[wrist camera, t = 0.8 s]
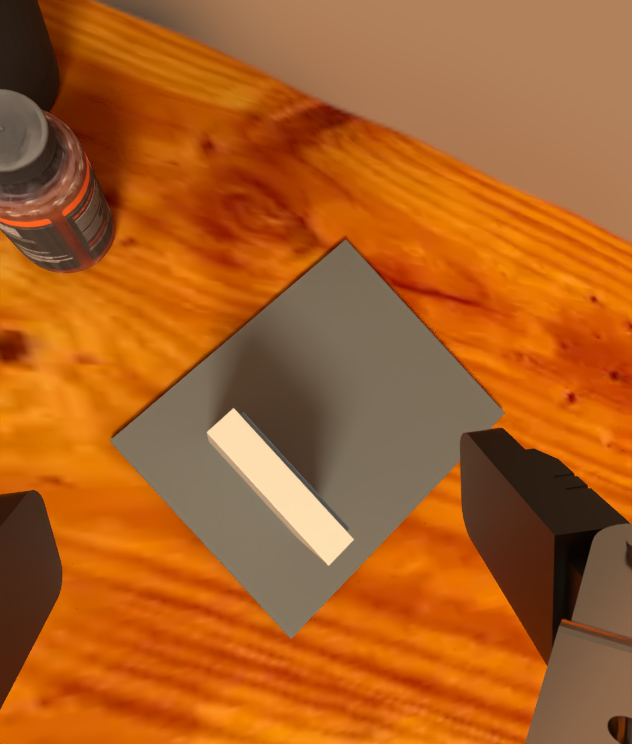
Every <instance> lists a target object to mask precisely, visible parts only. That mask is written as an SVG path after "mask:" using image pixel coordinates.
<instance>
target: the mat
mask: <svg viewBox="0 0 632 744" xmlns="http://www.w3.org/2000/svg"><path fill="white" fill-rule="evenodd" d="M233 408H234V409H235V410H236V411H237V412H238V413H239V414H241V413H243V412H244V413H245V414H246V415H247V416H248V418H249V419H250V420H251V421H252V422H253V423H254V424H255V425H256V426H257V427H258V429H259V430H260V431H261V432H262V433H263V434H264V435H265V436H266V437H267V438H268V439H269V441H270V442H271V443H272V444H273V445H274V446H275V447H276V448H277V449H278V450H279V451H280V453H281V454H282V455H283V456H284V457H285V458H286V459H287V460H288V461H289V462H290V463H291V465H292V466H293V467H294V468H295V469H296V470H297V471H298V472H299V473H300V474H301V475H302V477H303V478H304V479H305V480H306V481H307V482H308V483H309V484H310V485H311V486H312V487H313V489H314V490H315V491H316V492H317V493H318V494H319V495H320V496H321V497H322V498H323V500H324V501H325V502H326V503H327V504H328V505H329V506H330V507H331V508H332V509H333V510H334V512H335V513H336V514H337V515H338V516H339V517H340V518H341V519H342V520H343V521H344V522H345V524H346V525H347V526H348V527H349V529H348V530H347V532H348V533H349V535H350V536H351V537H352V538H353V539H354V540H353V541H352V542H351V543H350V544H349V545H348V546H347V547H346V548H345V549H344V551H343V552H342V553H341V554H340V555H339V556H338V557H337V558H336V559H335V560H334V561H333V562H332V563H331V564H330V565H329V566H328V565H327V564H326V563H325V562H324V561H323V560H321V559H320V558H319V557H318V556H317V555H316V554H315V553H314V552H312V551H311V550H310V549H309V548H308V547H307V546H306V545H304V544H303V543H302V542H301V541H300V540H299V539H298V538H297V537H296V536H295V535H294V534H293V533H292V532H291V531H290V530H289V529H288V528H287V527H286V525H285V524H284V523H283V522H282V521H281V520H280V519H279V518H278V517H277V516H276V515H275V513H274V512H273V511H272V510H271V509H270V508H269V507H268V506H267V505H266V504H265V503H264V501H263V500H262V499H261V498H260V497H259V496H258V495H257V494H256V493H255V492H254V491H253V489H252V488H251V487H250V486H249V485H248V484H247V483H246V482H245V481H244V480H243V479H242V477H241V476H240V475H239V474H238V473H237V472H236V471H235V470H234V469H233V468H232V466H231V465H230V464H229V463H228V462H227V461H226V460H225V459H224V458H223V457H222V456H221V454H220V453H219V452H218V451H217V450H216V449H215V448H214V447H213V446H212V445H211V444H210V442H209V441H208V437H207V431H209V430H210V429H211V428H212V427H213V426H214V425H215V424H216V423H218V422H219V421H220V420H221V419H222V418H223V417H224V416H225V415H226V414H228V413H229V412H230V411H231V410H232V409H233ZM504 413H505V412H504V411H503V410H502V409H501V408H500V407H499V406H498V405H497V404H496V403H495V401H494V400H493V399H492V398H491V397H490V396H489V395H488V394H487V393H486V392H485V391H484V389H483V388H482V387H481V386H480V385H479V384H478V383H477V382H476V381H475V380H474V379H473V377H472V376H471V375H470V374H469V373H468V372H467V371H466V370H465V369H464V368H463V367H462V365H461V364H460V363H459V362H458V361H457V360H456V359H455V358H454V357H453V356H452V355H451V353H450V352H449V351H448V350H447V349H446V348H445V347H444V346H443V345H442V344H441V343H440V341H439V340H438V339H437V338H436V337H435V336H434V335H433V334H432V333H431V332H430V331H429V329H428V328H427V327H426V326H425V325H424V324H423V323H422V322H421V321H420V320H419V319H418V317H417V316H416V315H415V314H414V313H413V312H412V311H411V310H410V309H409V308H408V307H407V305H406V304H405V303H404V302H403V301H402V300H401V299H400V298H399V297H398V296H397V294H396V293H395V292H394V291H393V290H392V289H391V288H390V287H389V286H388V285H387V284H386V282H385V281H384V280H383V279H382V278H381V277H380V276H379V275H378V274H377V273H376V272H375V270H374V269H373V268H372V267H371V266H370V265H369V264H368V263H367V262H366V261H365V260H364V258H363V257H362V256H361V255H360V254H359V253H358V252H357V251H356V250H355V249H354V248H353V246H352V245H351V244H350V243H349V242H348V241H347V240H344V241H343V242H342V243H341V244H340V245H339V246H337V247H336V248H335V249H334V250H333V251H332V252H330V253H329V254H328V255H327V256H326V257H325V258H323V259H322V260H321V261H320V262H319V263H317V264H316V265H315V266H314V267H313V268H312V269H310V270H309V271H308V272H307V273H306V274H305V275H303V276H302V277H301V278H300V279H299V280H298V281H296V282H295V283H294V284H293V285H292V286H291V287H289V288H288V289H287V290H286V291H285V292H283V293H282V294H281V295H280V296H279V297H278V298H276V299H275V300H274V301H273V302H272V303H271V304H269V305H268V306H267V307H266V308H265V309H264V310H262V311H261V312H260V313H259V314H258V315H257V316H255V317H254V318H253V319H252V320H251V321H249V322H248V323H247V324H246V325H245V326H244V327H242V328H241V329H240V330H239V331H238V332H237V333H235V334H234V335H233V336H232V337H231V338H230V339H228V340H227V341H226V342H225V343H224V344H223V345H221V346H220V347H219V348H218V349H217V350H215V351H214V352H213V353H212V354H211V355H210V356H208V357H207V358H206V359H205V360H204V361H203V362H201V363H200V364H199V365H198V366H197V367H196V368H194V369H193V370H192V371H191V372H190V373H189V374H187V375H186V376H185V377H184V378H183V379H181V380H180V381H179V382H178V383H177V384H176V385H174V386H173V387H172V388H171V389H170V390H169V391H167V392H166V393H165V394H164V395H163V396H162V397H160V398H159V399H158V400H157V401H156V402H155V403H153V404H152V405H151V406H150V407H149V408H147V409H146V410H145V411H144V412H143V413H142V414H140V415H139V416H138V417H137V418H136V419H135V420H133V421H132V422H131V423H130V424H129V425H128V426H126V427H125V428H124V429H123V430H122V431H121V432H119V433H118V434H117V435H116V436H115V437H113V438H112V439H111V440H110V442H111V443H112V444H113V445H114V446H115V447H116V448H117V450H118V451H119V452H120V453H121V454H122V455H123V456H124V457H125V458H126V459H127V460H128V462H129V463H130V464H131V465H132V466H133V467H134V468H135V469H136V470H137V471H138V472H139V474H140V475H141V476H142V477H143V478H144V479H145V480H146V481H147V482H148V483H149V485H150V486H151V487H152V488H153V489H154V490H155V491H156V492H157V493H158V494H159V495H160V497H161V498H162V499H163V500H164V501H165V502H166V503H167V504H168V505H169V506H170V507H171V509H172V510H173V511H174V512H175V513H176V514H177V515H178V516H179V517H180V518H181V519H182V521H183V522H184V523H185V524H186V525H187V526H188V527H189V528H190V529H191V530H192V531H193V533H194V534H195V535H196V536H197V537H198V538H199V539H200V540H201V541H202V542H203V543H204V545H205V546H206V547H207V548H208V549H209V550H210V551H211V552H212V553H213V554H214V556H215V557H216V558H217V559H218V560H219V561H220V562H221V563H222V564H223V565H224V566H225V568H226V569H227V570H228V571H229V572H230V573H231V574H232V575H233V576H234V577H235V578H236V580H237V581H238V582H239V583H240V584H241V585H242V586H243V587H244V588H245V589H246V590H247V592H248V593H249V594H250V595H251V596H252V597H253V598H254V599H255V600H256V601H257V602H258V604H259V605H260V606H261V607H262V608H263V609H264V610H265V611H266V612H267V613H268V615H269V616H270V617H271V618H272V619H273V620H274V621H275V622H276V623H277V624H278V625H279V627H280V628H281V629H282V630H283V631H284V632H285V633H286V634H287V635H288V636H289V637H290V639H291V638H292V637H293V636H294V635H295V634H296V633H297V632H298V631H299V630H300V629H301V628H302V627H303V626H304V625H305V624H306V622H307V621H308V620H309V619H310V618H311V617H312V616H313V615H314V614H315V613H316V612H317V611H318V610H319V609H320V608H321V607H322V606H323V605H324V603H325V602H326V601H327V600H328V599H329V598H330V597H331V596H332V595H333V594H334V593H335V592H336V591H337V590H338V589H339V588H340V587H341V586H342V584H343V583H344V582H345V581H346V580H347V579H348V578H349V577H350V576H351V575H352V574H353V573H354V572H355V571H356V570H357V569H358V568H359V567H360V565H361V564H362V563H363V562H364V561H365V560H366V559H367V558H368V557H369V556H370V555H371V554H372V553H373V552H374V551H375V550H376V549H377V548H378V546H379V545H380V544H381V543H382V542H383V541H384V540H385V539H386V538H387V537H388V536H389V535H390V534H391V533H392V532H393V531H394V530H395V529H396V527H397V526H398V525H399V524H400V523H401V522H402V521H403V520H404V519H405V518H406V517H407V516H408V515H409V514H410V513H411V512H412V511H413V510H414V508H415V507H416V506H417V505H418V504H419V503H420V502H421V501H422V500H423V499H424V498H425V497H426V496H427V495H428V494H429V493H430V492H431V491H432V489H433V488H434V487H435V486H436V485H437V484H438V483H439V482H440V481H441V480H442V479H443V478H444V477H445V476H446V475H447V474H448V473H449V472H450V470H451V469H452V468H453V467H454V466H455V465H456V464H457V463H458V462H459V461H460V439H461V435H462V434H463V433H466V432H473V431H481V430H488V429H490V428H491V427H492V426H493V425H494V424H495V423H496V422H497V421H498V420H499V419H500V418H501V417H502V416H503V415H504Z"/></svg>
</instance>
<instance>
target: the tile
mask: <svg viewBox="0 0 632 744" xmlns="http://www.w3.org/2000/svg"><path fill="white" fill-rule="evenodd" d="M207 437H208V441H209V442H210V444H211V445H212V446H213V447H214V448H215V449H216V450H217V451H218V452H219V453H220V454H221V456H222V457H223V458H224V459H225V460H226V461H227V462H228V463H229V464H230V465H231V466H232V468H233V469H234V470H235V471H236V472H237V473H238V474H239V475H240V476H241V477H242V479H243V480H244V481H245V482H246V483H247V484H248V485H249V486H250V487H251V488H252V489H253V491H254V492H255V493H256V494H257V495H258V496H259V497H260V498H261V499H262V500H263V501H264V503H265V504H266V505H267V506H268V507H269V508H270V509H271V510H272V511H273V512H274V513H275V515H276V516H277V517H278V518H279V519H280V520H281V521H282V522H283V523H284V524H285V525H286V527H287V528H288V529H289V530H290V531H291V532H292V533H293V534H294V535H295V536H296V537H297V538H298V539H299V540H300V541H301V542H302V543H303V544H304V545H306V546H307V547H308V548H309V549H310V550H311V551H312V552H314V553H315V554H316V555H317V556H318V557H319V558H320V559H321V560H323V561H324V562H325V563H326V564H327V565H328V566H329V565H330V564H331V563H332V562H333V561H334V560H335V559H336V558H337V557H338V556H339V555H340V554H341V553H342V552H343V551H344V549H345V548H346V547H347V546H348V545H349V544H350V543H351V542H352V541H353V540H354V539H353V538H352V537H351V536H350V535H349V533H348V532H347V530H348V529H349V527H348V526H347V525H346V524H345V522H344V521H343V520H342V519H341V518H340V517H339V516H338V515H337V514H336V513H335V512H334V510H333V509H332V508H331V507H330V506H329V505H328V504H327V503H326V502H325V501H324V500H323V498H322V497H321V496H320V495H319V494H318V493H317V492H316V491H315V490H314V489H313V487H312V486H311V485H310V484H309V483H308V482H307V481H306V480H305V479H304V478H303V477H302V475H301V474H300V473H299V472H298V471H297V470H296V469H295V468H294V467H293V466H292V465H291V463H290V462H289V461H288V460H287V459H286V458H285V457H284V456H283V455H282V454H281V453H280V451H279V450H278V449H277V448H276V447H275V446H274V445H273V444H272V443H271V442H270V441H269V439H268V438H267V437H266V436H265V435H264V434H263V433H262V432H261V431H260V430H259V429H258V427H257V426H256V425H255V424H254V423H253V422H252V421H251V420H250V419H249V418H248V416H247V415H246V414H245V413H244V412H243V413H241V414H239V413H238V412H237V411H236V410H235V409H234V408H233V409H232V410H231V411H230V412H229V413H228V414H226V415H225V416H224V417H223V418H222V419H221V420H220V421H219V422H218V423H216V424H215V425H214V426H213V427H212V428H211V429H210V430H209V431H207Z"/></svg>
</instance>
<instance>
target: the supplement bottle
mask: <svg viewBox="0 0 632 744" xmlns="http://www.w3.org/2000/svg"><path fill="white" fill-rule="evenodd" d="M0 230H1V231H2V232H3V233H4V234H5V235H6V236H7V237H8V238H9V239H10V240H11V241H12V242H13V243H14V245H15V246H16V247H17V248H18V249H19V250H20V251H21V252H22V253H23V254H24V255H25V256H26V257H27V258H28V259H29V260H30V261H32V262H33V263H34V264H36V265H38V266H39V267H41V268H44V269H46V270H49V271H53V272H57V273H73V272H78V271H82V270H84V269H87V268H89V267H91V266H93V265H94V264H96V263H97V262H99V261H100V260H101V259H102V258H103V257H104V255H105V254H106V253H107V251H108V250H109V248H110V246H111V243H112V240H113V237H114V221H113V218H112V214H111V211H110V208H109V206H108V204H107V201H106V199H105V197H104V194H103V192H102V190H101V188H100V185H99V183H98V180H97V178H96V176H95V174H94V171H93V169H92V167H91V165H90V162H89V160H88V158H87V156H86V153H85V151H84V149H83V147H82V145H81V143H80V141H79V140H78V138H77V137H76V135H75V134H74V132H73V131H72V130H71V128H70V127H69V126H67V125H66V124H65V123H64V122H63V121H62V120H60V119H59V118H57V117H55V116H54V115H52V114H50V113H48V112H46V111H44V110H41V109H40V107H39V106H38V105H37V104H36V103H35V102H34V101H33V100H31V99H30V98H28V97H27V96H25V95H23V94H20V93H18V92H15V91H11V90H6V89H0Z"/></svg>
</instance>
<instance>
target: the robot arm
mask: <svg viewBox="0 0 632 744" xmlns="http://www.w3.org/2000/svg"><path fill="white" fill-rule="evenodd" d="M460 467H461V498H462V512H463V518H464V522H465V526H466V529H467V532H468V534H469V537H470V539H471V540H472V542H473V544H474V545H475V547H476V549H477V550H478V552H479V554H480V555H481V557H482V559H483V560H484V562H485V563H486V565H487V567H488V568H489V570H490V572H491V573H492V575H493V577H494V578H495V580H496V582H497V583H498V585H499V587H500V588H501V590H502V592H503V593H504V595H505V597H506V598H507V600H508V602H509V603H510V605H511V607H512V608H513V610H514V611H515V613H516V615H517V616H518V618H519V620H520V621H521V623H522V625H523V626H524V628H525V630H526V631H527V633H528V635H529V636H530V638H531V640H532V641H533V643H534V645H535V646H536V648H537V650H538V651H539V653H540V655H541V656H542V658H543V659H544V661H545V663H546V664H547V670H546V673H545V677H544V680H543V684H542V687H541V690H540V694H539V697H538V701H537V704H536V708H535V711H534V715H533V718H532V722H531V725H530V728H529V732H528V735H527V739H526V742H525V744H632V524H630V523H629V522H628V521H627V520H626V519H625V518H624V517H623V516H621V515H620V514H619V513H618V512H617V511H616V510H615V509H614V508H612V507H611V506H610V505H609V504H608V503H607V502H606V501H605V500H603V499H602V498H601V497H600V496H599V495H598V494H597V493H596V492H594V491H593V490H592V489H591V488H590V489H588V486H587V484H585V483H584V482H583V481H582V480H581V479H580V478H579V477H578V476H574V473H573V472H572V471H571V470H570V469H569V468H568V467H566V466H565V465H564V464H563V463H562V462H561V461H560V460H559V459H557V458H554V457H552V456H550V455H548V454H545V453H543V452H541V451H538V450H536V449H527V450H525V449H524V448H523V447H522V446H521V445H520V444H519V443H518V442H517V441H516V440H515V439H514V438H513V437H512V436H511V435H510V434H509V433H508V432H507V431H505V430H504V429H503V428H495V429H488V430H481V431H473V432H466V433H463V434H462V435H461V439H460ZM61 585H62V565H61V560H60V557H59V553H58V550H57V546H56V542H55V539H54V535H53V532H52V528H51V525H50V521H49V518H48V514H47V511H46V507H45V504H44V501H43V499H42V497H41V495H40V494H39V493H38V492H37V491H35V490H31V491H24V492H17V493H9V494H2V495H0V709H1V707H2V705H3V703H4V701H5V699H6V697H7V696H8V694H9V692H10V690H11V688H12V686H13V684H14V682H15V680H16V678H17V676H18V674H19V672H20V670H21V668H22V666H23V665H24V663H25V661H26V659H27V657H28V655H29V653H30V651H31V649H32V647H33V645H34V643H35V641H36V639H37V637H38V635H39V634H40V632H41V630H42V628H43V626H44V624H45V622H46V620H47V618H48V616H49V614H50V612H51V610H52V608H53V606H54V604H55V602H56V601H57V599H58V596H59V594H60V590H61Z"/></svg>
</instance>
